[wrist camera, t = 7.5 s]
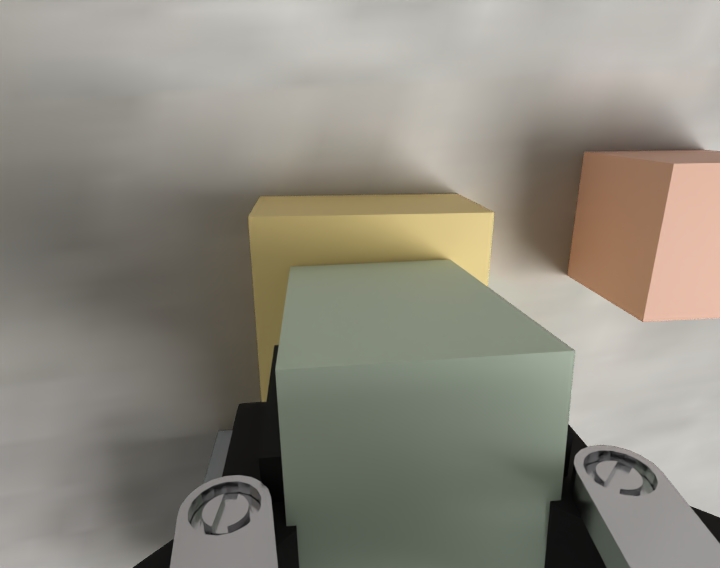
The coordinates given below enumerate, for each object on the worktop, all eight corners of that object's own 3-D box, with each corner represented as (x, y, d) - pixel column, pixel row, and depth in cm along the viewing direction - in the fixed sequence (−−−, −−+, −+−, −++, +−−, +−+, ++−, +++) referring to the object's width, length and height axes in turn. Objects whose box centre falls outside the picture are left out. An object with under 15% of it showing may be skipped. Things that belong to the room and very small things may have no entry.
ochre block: (260, 194, 15) (248, 216, 12) (454, 191, 15) (494, 212, 12) (275, 421, 17) (268, 491, 14) (440, 411, 18) (470, 477, 15)
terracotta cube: (583, 151, 15) (673, 163, 11) (702, 149, 16) (828, 160, 12) (566, 274, 17) (643, 321, 13) (676, 270, 17) (783, 315, 13)
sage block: (290, 266, 12) (274, 369, 6) (450, 259, 12) (575, 350, 7) (303, 478, 14) (299, 719, 8) (445, 466, 14) (543, 687, 8)
